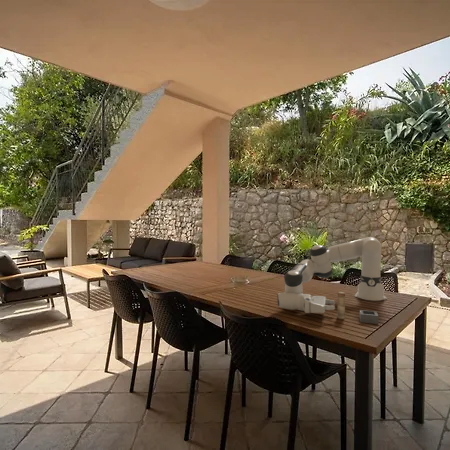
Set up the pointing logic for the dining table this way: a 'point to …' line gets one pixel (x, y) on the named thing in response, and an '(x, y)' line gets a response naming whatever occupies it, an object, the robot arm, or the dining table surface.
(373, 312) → the square socket block
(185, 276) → the dining table surface
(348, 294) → the dining table surface
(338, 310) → the dowel
